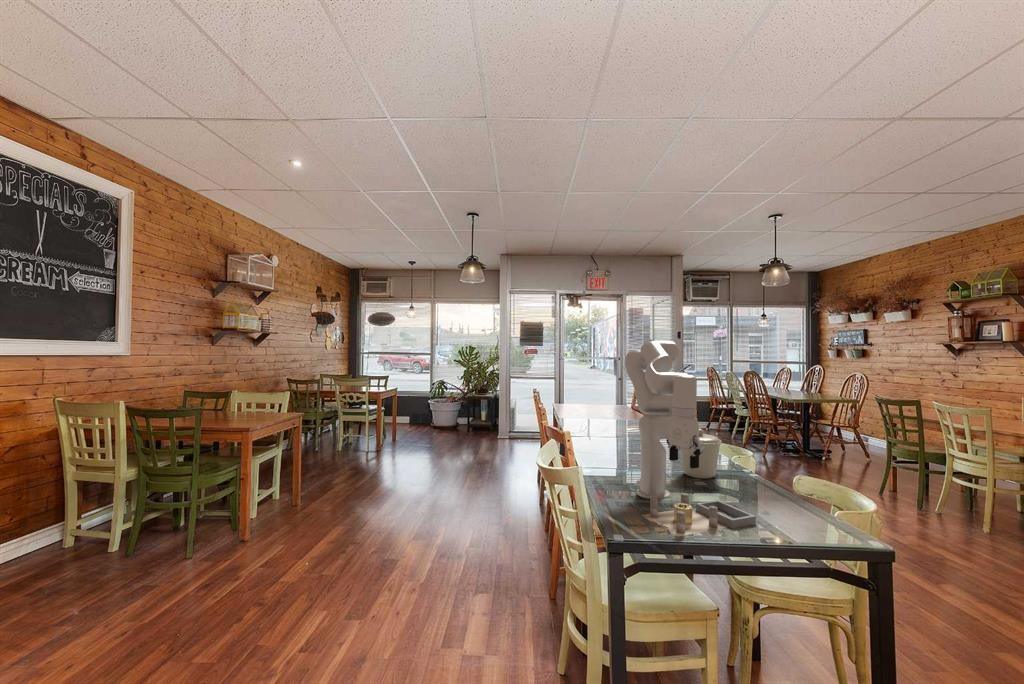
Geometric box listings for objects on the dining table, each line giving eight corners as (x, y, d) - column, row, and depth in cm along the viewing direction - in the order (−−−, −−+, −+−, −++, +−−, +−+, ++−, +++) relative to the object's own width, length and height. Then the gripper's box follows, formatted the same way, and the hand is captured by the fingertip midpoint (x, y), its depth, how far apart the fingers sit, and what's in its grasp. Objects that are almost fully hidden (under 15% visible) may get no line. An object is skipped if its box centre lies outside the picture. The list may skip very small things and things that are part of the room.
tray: (695, 513, 163) (696, 503, 163) (717, 509, 167) (718, 500, 167) (732, 531, 148) (732, 520, 148) (755, 526, 152) (755, 516, 152)
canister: (695, 483, 197) (695, 433, 196) (669, 471, 214) (670, 426, 214) (730, 479, 202) (731, 431, 201) (702, 468, 219) (703, 424, 219)
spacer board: (641, 518, 158) (641, 497, 158) (687, 510, 165) (687, 491, 165) (677, 539, 142) (677, 517, 141) (727, 530, 149) (727, 508, 149)
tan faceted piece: (670, 519, 155) (670, 504, 155) (684, 517, 157) (684, 502, 157) (681, 525, 150) (681, 509, 150) (695, 522, 152) (695, 507, 152)
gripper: (657, 409, 160) (657, 458, 160) (694, 417, 144) (693, 472, 144) (675, 408, 162) (674, 456, 163) (713, 416, 146) (712, 470, 146)
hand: (683, 463), depth 153 cm, fingers open, 9 cm apart
